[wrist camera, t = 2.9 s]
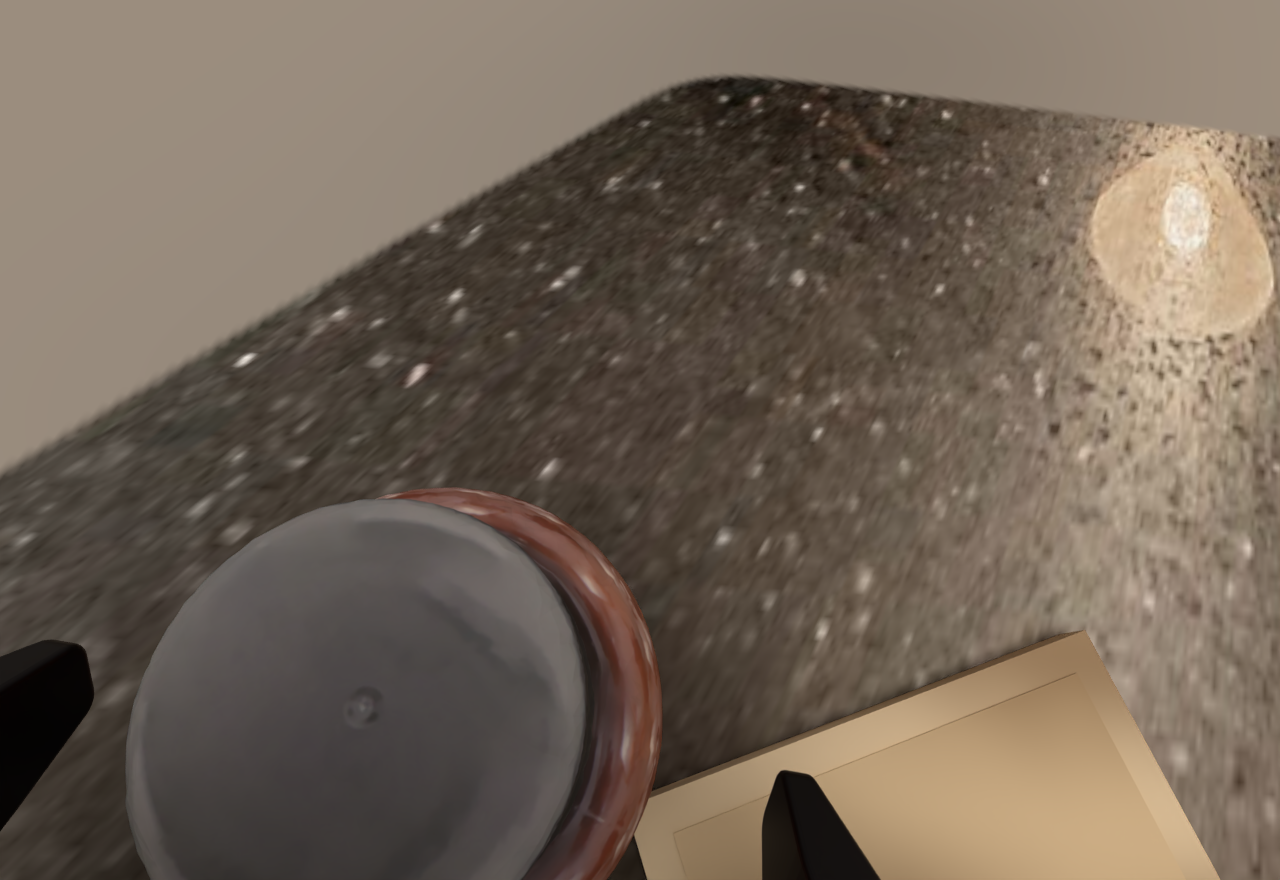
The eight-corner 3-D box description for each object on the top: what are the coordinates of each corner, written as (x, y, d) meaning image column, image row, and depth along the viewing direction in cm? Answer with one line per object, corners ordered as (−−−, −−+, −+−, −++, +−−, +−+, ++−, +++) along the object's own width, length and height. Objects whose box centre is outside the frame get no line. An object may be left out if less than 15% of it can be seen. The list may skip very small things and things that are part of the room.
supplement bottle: (447, 550, 18) (239, 318, 7) (665, 629, 17) (777, 502, 7) (334, 795, 16) (-195, 968, 5) (582, 892, 15) (559, 1293, 5)
